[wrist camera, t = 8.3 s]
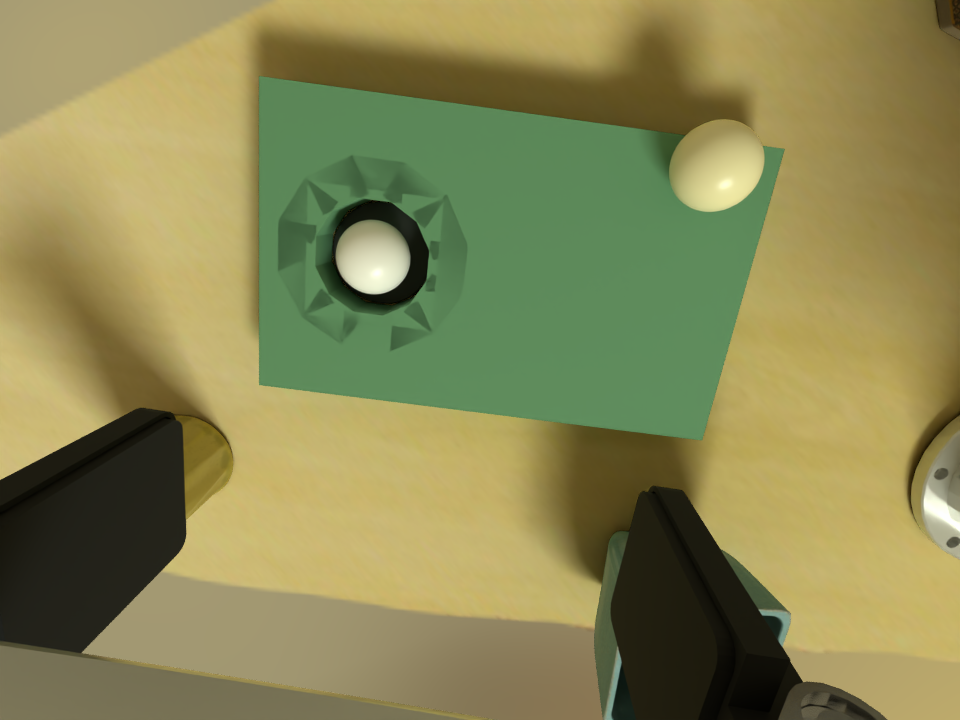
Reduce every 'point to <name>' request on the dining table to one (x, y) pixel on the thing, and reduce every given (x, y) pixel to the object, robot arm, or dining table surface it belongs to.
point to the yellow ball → (716, 165)
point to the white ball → (373, 256)
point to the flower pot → (607, 656)
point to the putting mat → (496, 261)
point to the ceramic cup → (949, 16)
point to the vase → (203, 462)
